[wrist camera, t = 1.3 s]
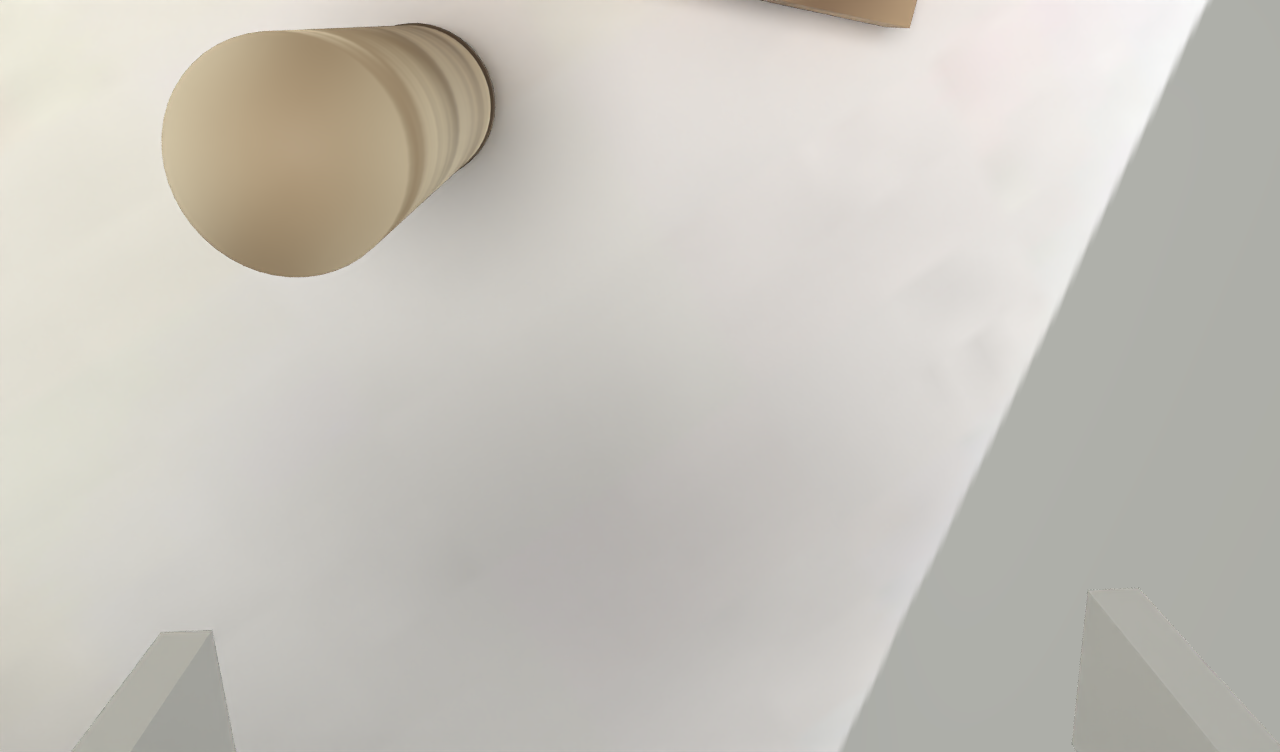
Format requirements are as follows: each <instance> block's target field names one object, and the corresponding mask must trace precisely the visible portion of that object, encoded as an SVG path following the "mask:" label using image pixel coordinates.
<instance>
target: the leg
mask: <svg viewBox="0 0 1280 752" xmlns="http://www.w3.org/2000/svg"><path fill="white" fill-rule="evenodd" d="M494 115H495V96H494V90H493V85H492V82H491V79H490V76H489V74H488V71H487V69H486V67H485V65H484V64H483V62H482V60H481V59H480V58H479V56H478V55H477V54H476V52H475V51H474V50H473V49H472V48H471V47H470V46H469V45H468V44H467V43H466V42H464V41H463V40H462V39H461V38H459V37H458V36H456V35H454V34H453V33H451V32H449V31H447V30H445V29H442V28H440V27H436V26H433V25H428V24H421V23H407V24H400V25H395V26H378V27H354V28H331V29H307V30H283V31H262V32H255V33H248V34H244V35H240V36H237V37H233V38H231V39H228V40H226V41H224V42H222V43H220V44H217V45H216V46H214V47H213V48H211V49H210V50H208V51H206V52H205V53H204V54H202V55H201V56H200V57H199V58H198V59H197V60H196V61H194V62H193V63H192V64H191V66H190V67H189V68H188V69H187V70H186V71H185V73H184V74H183V75H182V77H181V78H180V80H179V81H178V83H177V85H176V86H175V88H174V90H173V92H172V95H171V97H170V99H169V102H168V104H167V108H166V112H165V115H164V120H163V128H162V156H163V163H164V168H165V172H166V176H167V180H168V183H169V185H170V188H171V190H172V193H173V195H174V198H175V200H176V201H177V203H178V205H179V207H180V209H181V210H182V212H183V214H184V215H185V216H186V218H187V219H188V221H189V222H190V223H191V225H192V226H193V227H194V228H195V229H196V230H197V232H198V233H199V234H200V235H201V236H202V237H203V238H204V239H205V240H206V241H207V242H209V243H210V244H211V245H212V246H213V247H214V248H215V249H217V250H218V251H220V252H221V253H223V254H224V255H226V256H227V257H229V258H230V259H232V260H234V261H236V262H238V263H240V264H242V265H243V266H246V267H249V268H251V269H254V270H256V271H259V272H263V273H267V274H271V275H277V276H285V277H309V276H316V275H322V274H326V273H329V272H333V271H336V270H338V269H341V268H343V267H345V266H348V265H349V264H351V263H353V262H354V261H356V260H358V259H360V258H361V257H362V256H364V255H365V254H366V253H367V252H369V251H370V250H371V249H372V248H373V247H374V246H376V245H377V244H378V243H379V242H380V241H381V240H382V239H383V238H384V237H385V236H386V235H388V234H389V233H390V232H391V231H392V230H393V229H394V228H395V227H396V226H397V225H399V224H400V223H401V222H402V221H403V220H404V219H405V218H406V217H407V216H408V215H409V214H411V213H412V212H413V211H414V210H415V209H416V208H417V207H418V206H419V205H420V204H421V203H423V202H424V201H425V200H426V199H427V198H428V197H429V196H430V195H431V194H432V193H433V192H435V191H436V190H437V189H438V188H439V187H440V186H441V185H442V184H443V183H444V182H446V181H447V180H448V179H449V178H450V177H451V176H452V175H453V174H454V173H455V172H456V171H458V170H459V169H460V168H462V167H464V166H465V165H466V164H467V163H469V162H470V161H471V160H472V159H473V158H474V157H475V156H476V155H477V154H478V153H479V151H480V150H481V149H482V147H483V146H484V144H485V142H486V140H487V139H488V137H489V134H490V131H491V129H492V125H493V121H494Z"/></svg>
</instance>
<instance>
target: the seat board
mask: <svg viewBox="0 0 1280 752" xmlns="http://www.w3.org/2000/svg"><path fill="white" fill-rule="evenodd" d="M762 1H766V2H771V3H776V4H780V5H785V6H790V7H794V8H799V9H804V10H808V11H813V12H818V13H823V14H827V15H832V16H837V17H841V18H846V19H851V20H855V21H860V22H865V23H869V24H874V25H879V26H884V27H896V28H910V24H911V21H912V17H913V13H914V9H915V6H916V2H917V0H762Z"/></svg>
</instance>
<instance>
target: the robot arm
mask: <svg viewBox="0 0 1280 752" xmlns="http://www.w3.org/2000/svg"><path fill="white" fill-rule="evenodd" d="M1072 745H1073V747H1074V749H1075V750H1076V752H1280V744H1279V743H1278V742H1277V741H1276V739H1275V738H1274V737H1273V736H1272V735H1271V734H1270V733H1269V732H1268V731H1267V730H1266V728H1265V727H1264V726H1263V725H1262V724H1261V723H1260V722H1259V721H1258V720H1257V719H1256V718H1255V716H1254V715H1253V714H1252V713H1251V712H1250V711H1249V710H1248V709H1247V707H1246V706H1245V705H1244V704H1243V703H1242V702H1241V701H1240V700H1239V698H1238V697H1237V696H1236V695H1235V694H1234V693H1233V692H1232V691H1231V690H1230V689H1229V687H1228V686H1227V685H1226V684H1225V683H1224V682H1223V681H1222V680H1221V679H1220V677H1219V676H1218V675H1217V674H1216V673H1215V672H1214V671H1213V670H1212V669H1211V667H1210V666H1209V665H1208V664H1207V663H1206V662H1205V661H1204V660H1203V659H1202V657H1200V655H1199V654H1198V653H1197V652H1196V651H1195V650H1194V649H1193V648H1192V646H1191V645H1190V644H1189V643H1188V642H1187V641H1186V640H1185V639H1184V638H1183V636H1182V635H1181V634H1180V633H1179V632H1178V631H1177V630H1176V629H1175V628H1174V626H1173V625H1172V624H1171V623H1170V622H1169V621H1168V620H1167V619H1166V618H1165V617H1164V615H1163V614H1162V613H1161V612H1160V611H1159V610H1158V609H1157V608H1156V607H1155V605H1154V604H1153V603H1152V602H1151V601H1150V600H1149V599H1148V598H1147V597H1146V595H1145V594H1144V593H1143V592H1142V591H1141V590H1140V589H1139V588H1124V589H1103V590H1088V591H1087V601H1086V611H1085V620H1084V630H1083V641H1082V649H1081V659H1080V669H1079V679H1078V689H1077V699H1076V708H1075V717H1074V727H1073V738H1072ZM72 752H236V750H235V745H234V740H233V734H232V729H231V724H230V719H229V714H228V709H227V704H226V699H225V694H224V689H223V683H222V678H221V673H220V668H219V663H218V658H217V653H216V648H215V643H214V638H213V632H212V630H203V631H181V632H161V633H160V634H159V636H158V637H157V638H156V640H155V641H154V642H153V644H152V645H151V646H150V648H149V649H148V650H147V652H146V653H145V654H144V656H143V657H142V658H141V660H140V661H139V662H138V664H137V665H136V666H135V668H134V669H133V670H132V672H131V673H130V674H129V676H128V677H127V678H126V680H125V681H124V682H123V684H122V685H121V686H120V688H119V689H118V690H117V692H116V693H115V694H114V696H113V697H112V698H111V700H110V701H109V702H108V704H107V705H106V706H105V708H104V709H103V710H102V712H101V713H100V714H99V716H98V717H97V718H96V720H95V721H94V722H93V724H92V725H91V726H90V728H89V729H88V730H87V732H86V733H85V734H84V736H83V737H82V738H81V740H80V741H79V742H78V744H77V745H76V746H75V748H74V749H73V750H72Z"/></svg>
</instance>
